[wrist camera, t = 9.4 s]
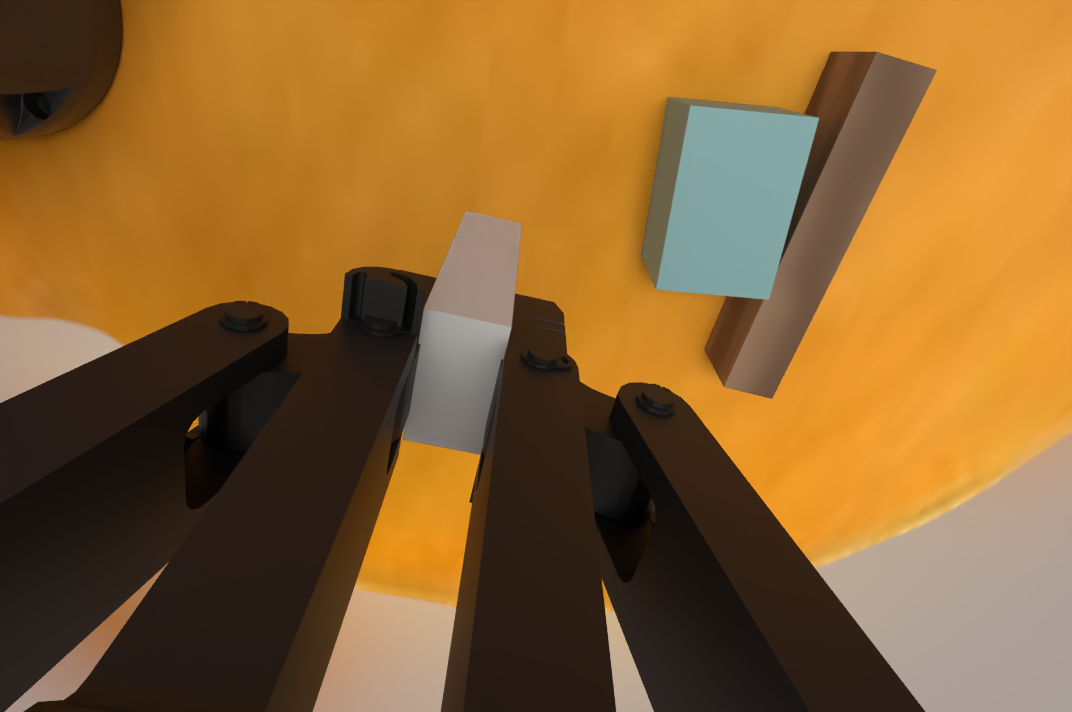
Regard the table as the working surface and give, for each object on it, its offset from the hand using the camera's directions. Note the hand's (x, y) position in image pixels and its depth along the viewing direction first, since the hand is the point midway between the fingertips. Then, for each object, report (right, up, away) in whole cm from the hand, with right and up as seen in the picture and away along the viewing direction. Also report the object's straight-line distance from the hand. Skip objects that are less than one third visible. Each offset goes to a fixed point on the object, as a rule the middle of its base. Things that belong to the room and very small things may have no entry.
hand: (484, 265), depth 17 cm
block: (+11, +7, +19) cm, 23 cm away
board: (+16, +5, +20) cm, 26 cm away
